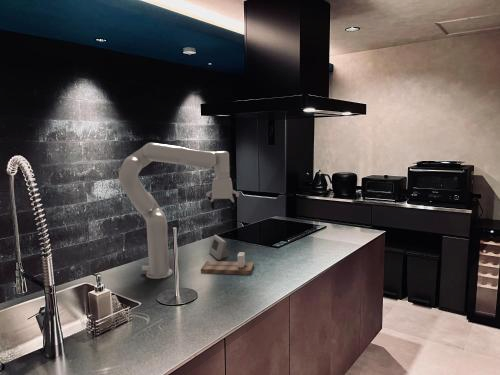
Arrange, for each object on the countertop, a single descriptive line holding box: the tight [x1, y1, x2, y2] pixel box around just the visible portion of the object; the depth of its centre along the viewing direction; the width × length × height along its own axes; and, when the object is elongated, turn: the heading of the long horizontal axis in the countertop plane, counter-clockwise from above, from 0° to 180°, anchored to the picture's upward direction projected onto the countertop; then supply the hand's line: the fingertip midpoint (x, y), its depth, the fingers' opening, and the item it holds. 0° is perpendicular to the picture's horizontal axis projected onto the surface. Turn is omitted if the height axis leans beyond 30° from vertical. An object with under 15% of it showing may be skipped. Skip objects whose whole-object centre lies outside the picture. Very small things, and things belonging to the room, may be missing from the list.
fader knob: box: [236, 251, 246, 267], centre depth 192 cm, size 3×5×6 cm, turn 172°
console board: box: [200, 260, 255, 276], centre depth 194 cm, size 25×12×2 cm, turn 82°
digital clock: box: [208, 234, 228, 261], centre depth 215 cm, size 16×9×11 cm, turn 13°
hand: (223, 209), depth 194 cm, fingers open, 9 cm apart
